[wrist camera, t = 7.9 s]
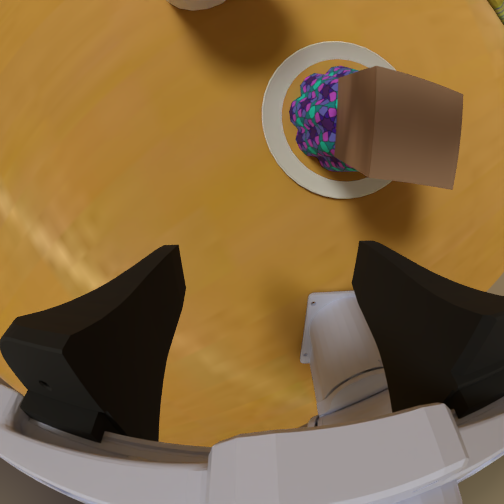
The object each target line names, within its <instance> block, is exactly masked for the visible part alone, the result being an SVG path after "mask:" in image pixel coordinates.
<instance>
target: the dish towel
mask: <svg viewBox="0 0 504 504" xmlns="http://www.w3.org/2000/svg"><path fill="white" fill-rule="evenodd" d="M487 1H488V2H489V4H490V5H491V6H492V8H493V9H494V10H495V12H496V14H497V15H498V17H499V18H500V20H501V22H502V23H503V24H504V0H487Z"/></svg>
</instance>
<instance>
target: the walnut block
mask: <svg viewBox="0 0 504 504" xmlns="http://www.w3.org/2000/svg"><path fill="white" fill-rule="evenodd" d="M462 110H463V94H461V93H458V92H456V91H454V90H451V89H449V88H446V87H444V86H441V85H438V84H436V83H433V82H430V81H427V80H424V79H421V78H418V77H415V76H412V75H409V74H405V73H402V72H399V71H395V70H391V69H388V68H384V67H380V66H374V67H371V68H367V69H364V70H361V71H358V72H355V73H351V74H348V75H346V76H343V77H340V78H338V101H337V122H336V138H335V152H334V157H336V158H337V159H339V160H341V161H342V162H344V163H346V164H347V165H349V166H351V167H352V168H354V169H356V170H357V171H359V172H360V173H362V174H364V175H365V176H367V177H368V178H374V179H383V180H392V181H399V182H407V183H414V184H421V185H427V186H433V187H439V188H445V189H451V190H453V185H454V179H455V173H456V167H457V161H458V153H459V145H460V136H461V125H462Z"/></svg>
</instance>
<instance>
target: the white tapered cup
mask: <svg viewBox="0 0 504 504" xmlns="http://www.w3.org/2000/svg"><path fill="white" fill-rule="evenodd" d="M166 1H168V2H169V3H171V4H172V5H174V6H176V7H177V8H179V9H186V10H192V11H195V10H203V9H209V8H212V7H214V6H216V5H219V4H221V3H224V2H225V1H226V0H166Z"/></svg>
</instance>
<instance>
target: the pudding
mask: <svg viewBox="0 0 504 504" xmlns="http://www.w3.org/2000/svg"><path fill="white" fill-rule="evenodd" d="M330 59H344V60H351V61H354V62H357V63H360V64H363V65H365V66H367V67H368V68H371V67H374V66H380V67H384V68H388V69H391V70H395V69H394V68H393V67H392V66H391V65H390V63H388V62H387V61H386V60H384V59H383V58H382V57H381V56H379V55H378V54H376V53H374V52H372V51H371V50H369V49H367V48H364V47H362V46H359V45H356V44H353V43H347V42H340V41H331V42H321V43H316V44H312V45H309V46H307V47H304V48H302V49H300V50H298V51H296V52H295V53H293V54H292V55H291V56H289V57H288V58H286V59H285V61H284V62H283V63H282V64H281V65H280V66H279V67H278V68H277V69H276V71H275V72H274V74H273V76H272V77H271V79H270V80H269V83H268V86H267V88H266V91H265V94H264V99H263V105H262V125H263V130H264V135H265V139H266V141H267V144H268V147H269V149H270V152H271V153H272V155H273V157H274V158H275V160H276V161H277V163H278V165H279V166H280V167H281V168H282V169H283V170H284V172H285V173H286V174H287V175H288V176H289V177H290V178H292V179H293V180H294V181H295V182H296V183H298V184H299V185H301V186H302V187H304V188H306V189H308V190H309V191H311V192H314V193H317V194H319V195H322V196H326V197H331V198H337V199H351V198H357V197H363V196H366V195H369V194H372V193H374V192H376V191H378V190H380V189H381V188H383V187H385V186H386V185H387V184H389V183H390V182H391V181H392V180H383V179H374V178H368V177H367V178H364V179H361V180H357V181H349V182H346V181H335V180H331V179H327V178H324V177H322V176H319V175H317V174H316V173H314V172H312V171H311V170H309V169H308V168H307V167H306V166H304V165H303V164H302V163H301V162H300V161H299V160H298V158H297V157H296V156H295V155H294V154H293V152H292V150H291V148H290V147H289V145H288V143H287V140H286V138H285V135H284V132H283V126H282V106H283V100H284V97H285V95H286V92H287V90H288V88H289V86H290V85H291V83H292V81H293V80H294V79H295V78H296V77H297V76H298V75H299V74H300V73H301V72H302V71H303V70H305V69H306V68H308V67H309V66H311V65H313V64H315V63H318V62H321V61H325V60H330ZM395 71H396V70H395ZM355 72H358V70H354V69H351V68H347V67H343V66H337V67H331V68H330V70H329V71H328V72H327V73H326V74H325V75H324V74H316V73H314V74H312V75H310V76H308V77H306V78H305V80H304V81H303V82H302V84H301V85H300V88H301V96H300V97H299V98H297V99H296V100H294V101H293V102H292V104H291V107H290V111H289V113H290V120H291V122H292V123H293V124H294V125H295V126H296V127H297V128H298V132H297V137H296V141H297V144H298V146H299V148H300V149H301V150H302V151H303V152H304V153H305V154H306V155H307V156H314V157H317V158H318V160H319V162H320V164H321V166H322V167H324V168H325V169H327V170H329V171H336V172H359V171H357V170H356V169H354V168H352V167H351V166H349V165H347V164H346V163H344V162H342V161H341V160H339V159H337V158H336V157H334V152H335V138H336V122H337V101H338V78H340V77H343V76H346V75H348V74H351V73H355Z"/></svg>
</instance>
